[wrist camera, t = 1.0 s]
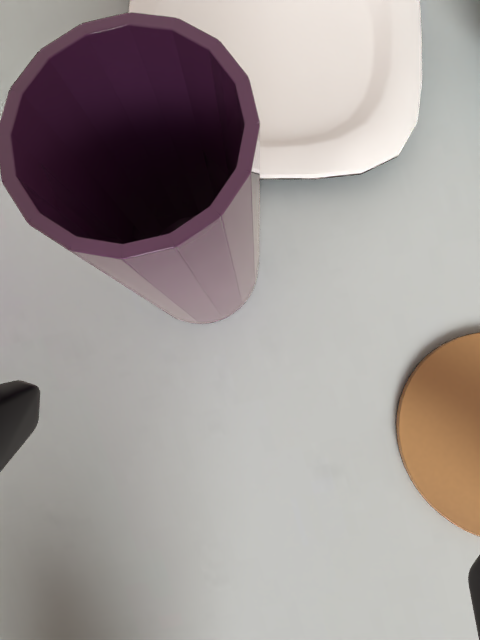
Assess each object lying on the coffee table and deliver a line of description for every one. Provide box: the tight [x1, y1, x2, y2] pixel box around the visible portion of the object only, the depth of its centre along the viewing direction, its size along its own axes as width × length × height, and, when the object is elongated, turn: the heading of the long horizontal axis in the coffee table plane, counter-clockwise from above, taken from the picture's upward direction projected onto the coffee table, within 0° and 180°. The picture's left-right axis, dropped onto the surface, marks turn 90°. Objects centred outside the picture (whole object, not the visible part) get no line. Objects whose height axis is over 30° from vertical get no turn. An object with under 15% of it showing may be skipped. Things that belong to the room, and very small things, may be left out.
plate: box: [128, 0, 422, 179], centre depth 23 cm, size 18×18×2 cm
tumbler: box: [0, 12, 260, 324], centre depth 16 cm, size 7×7×13 cm
